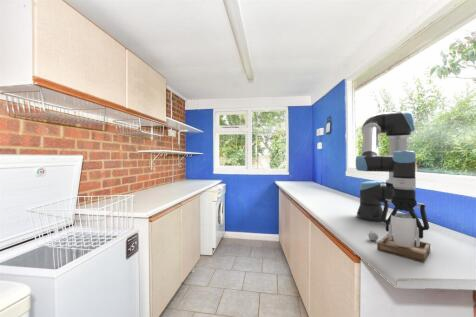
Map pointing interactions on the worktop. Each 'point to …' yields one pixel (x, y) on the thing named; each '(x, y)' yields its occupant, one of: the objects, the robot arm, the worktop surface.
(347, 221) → the worktop surface
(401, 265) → the worktop surface
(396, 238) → the cup
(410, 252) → the tray
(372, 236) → the ball
